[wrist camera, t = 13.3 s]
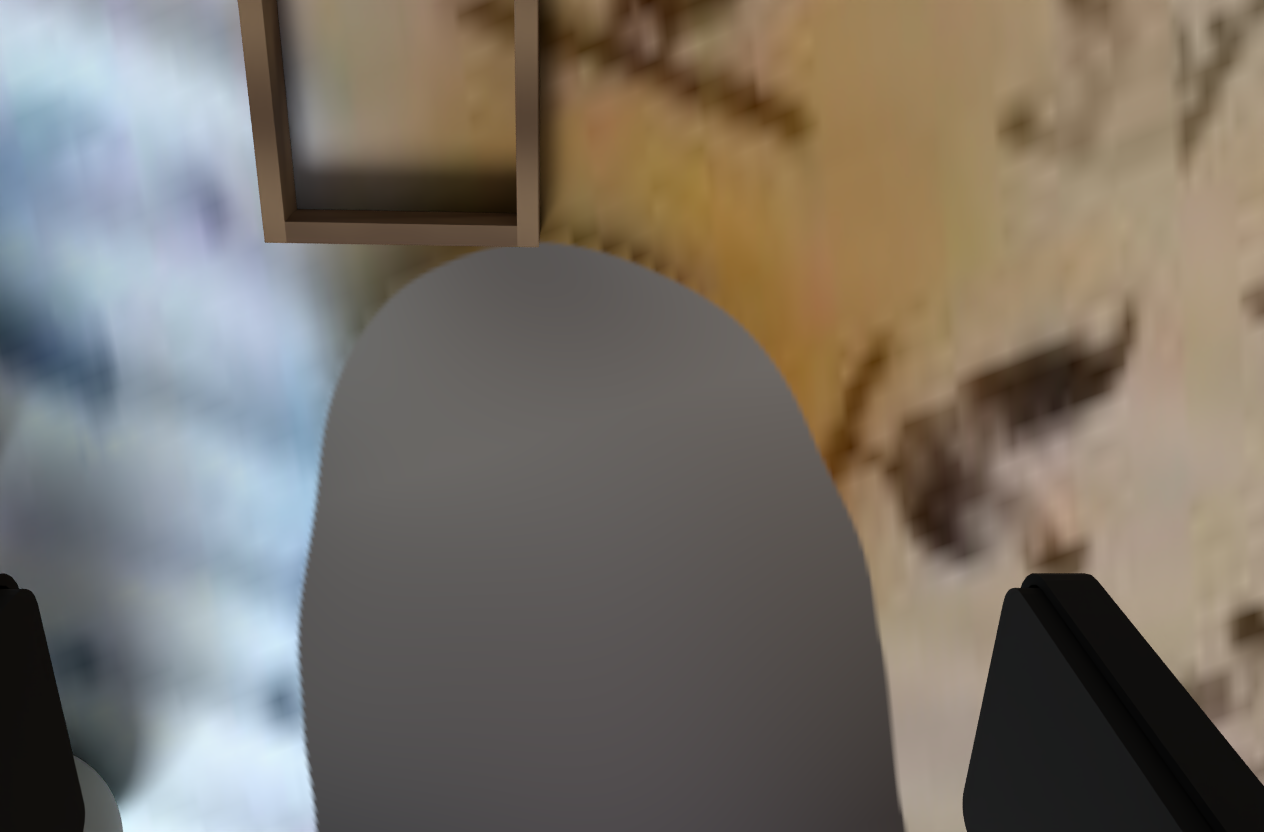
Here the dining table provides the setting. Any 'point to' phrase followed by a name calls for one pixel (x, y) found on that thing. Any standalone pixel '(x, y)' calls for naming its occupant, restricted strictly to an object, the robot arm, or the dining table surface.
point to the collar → (383, 225)
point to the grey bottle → (97, 801)
